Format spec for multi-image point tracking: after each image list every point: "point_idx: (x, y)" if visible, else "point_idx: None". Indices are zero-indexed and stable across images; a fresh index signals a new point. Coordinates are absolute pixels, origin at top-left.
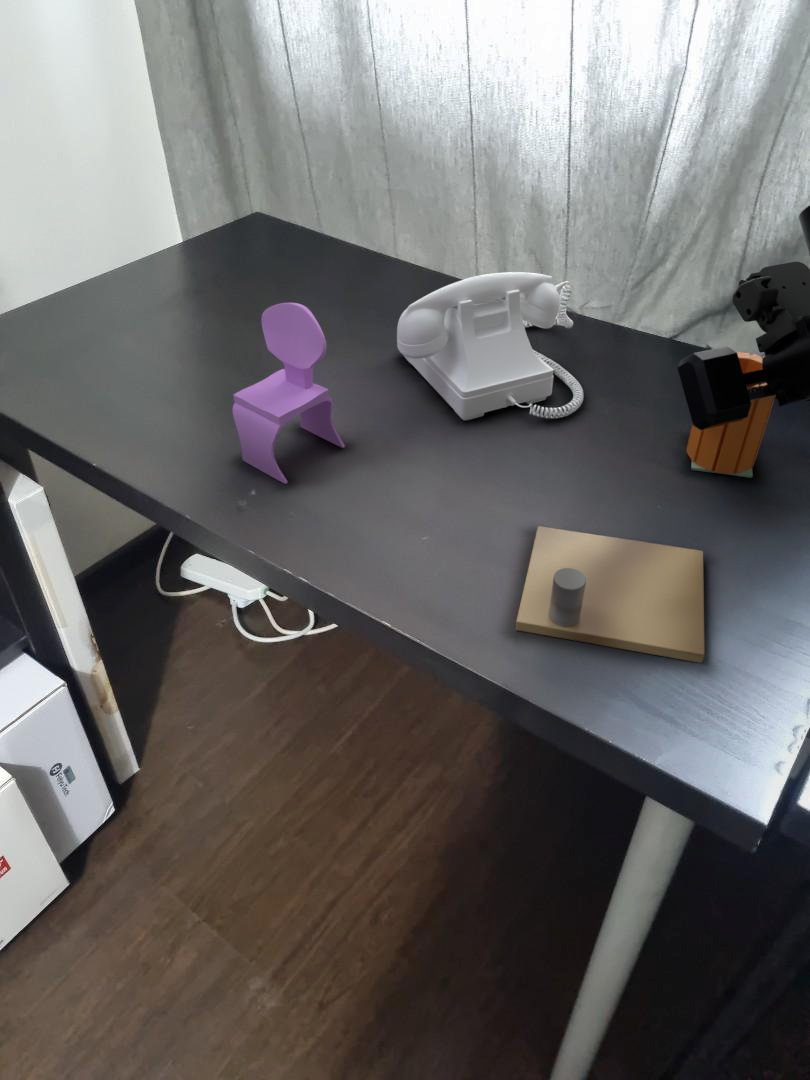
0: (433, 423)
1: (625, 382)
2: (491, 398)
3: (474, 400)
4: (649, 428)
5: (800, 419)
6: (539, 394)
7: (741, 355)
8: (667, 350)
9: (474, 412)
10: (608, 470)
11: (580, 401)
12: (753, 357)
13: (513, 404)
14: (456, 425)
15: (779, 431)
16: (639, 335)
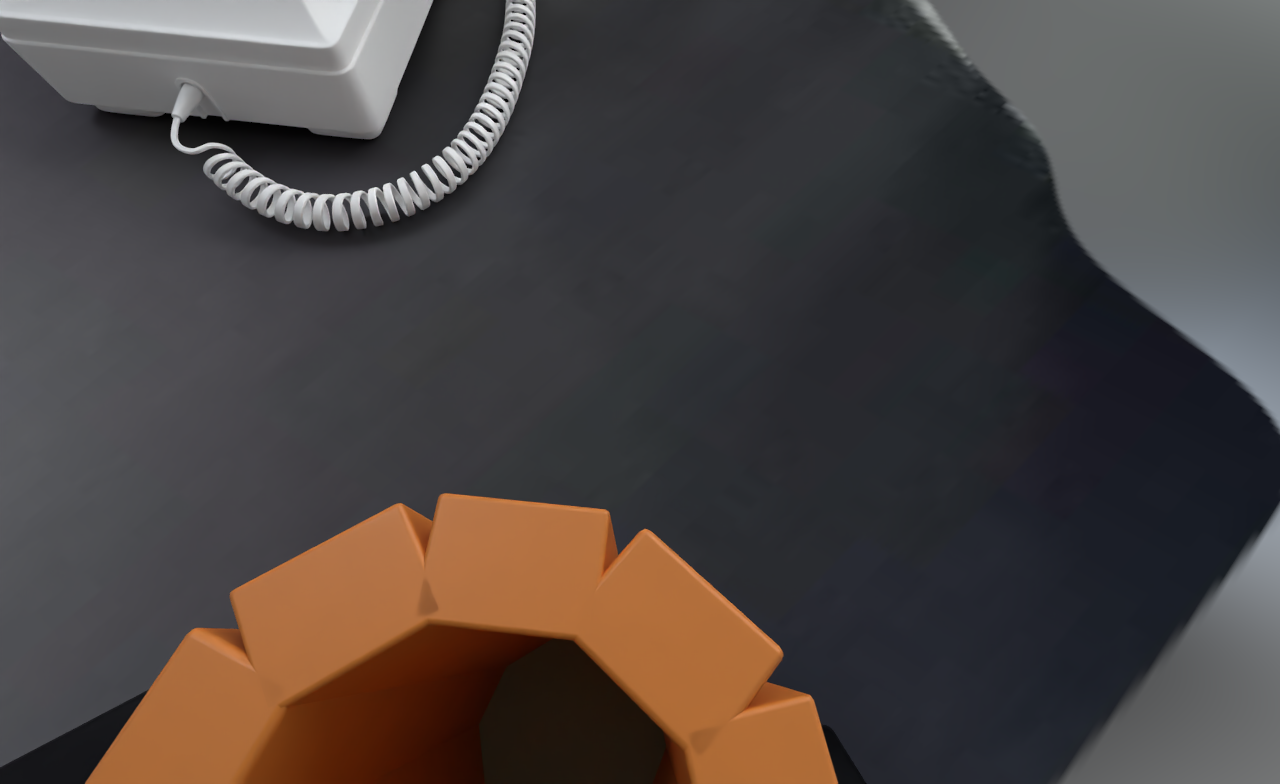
0: (32, 82)
1: (666, 184)
2: (116, 71)
3: (46, 57)
4: (511, 420)
5: (1107, 715)
6: (316, 117)
7: (667, 645)
8: (930, 120)
9: (89, 97)
10: (161, 542)
11: (405, 201)
12: (746, 756)
13: (229, 118)
14: (66, 116)
15: (952, 733)
16: (906, 30)
